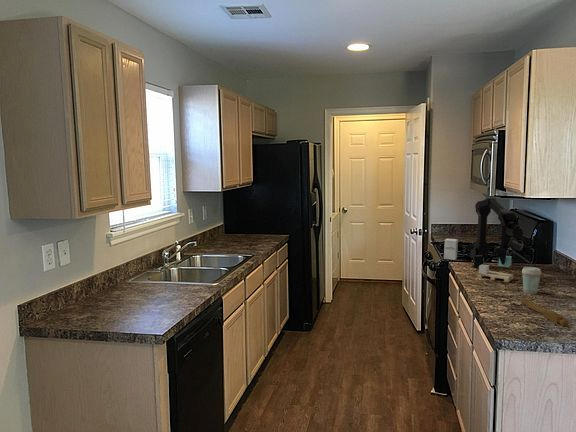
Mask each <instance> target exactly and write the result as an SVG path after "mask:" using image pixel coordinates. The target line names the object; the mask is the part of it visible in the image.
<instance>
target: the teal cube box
mask: <svg viewBox="0 0 576 432" xmlns="http://www.w3.org/2000/svg"><path fill="white" fill-rule="evenodd" d="M511 266H512V256H511V255H510V256H506V260H505V264H504V265H502V263H501V261H500V259H499V258H498V267H506V268H509V267H511Z"/></svg>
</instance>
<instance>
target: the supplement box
mask: <svg viewBox="0 0 576 432" xmlns="http://www.w3.org/2000/svg"><path fill="white" fill-rule="evenodd" d="M458 244H459V239H458V238H448V237H447V238H446V239H444V247H443V249H444V250H443V251H444V252H443V260H453V261H455V260H457V259H458V246H459V245H458Z"/></svg>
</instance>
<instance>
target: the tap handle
mask: <svg viewBox="0 0 576 432" xmlns="http://www.w3.org/2000/svg"><path fill="white" fill-rule="evenodd" d="M520 303H521V305H524V306H526V307H527V308H529V309H532V310H533V311H535V312H538V313H540V315H541V314H542V316H543V317H544V318H545V319H547V320H548V321H550V322H552V323H553V324H556V325H560V326H562V327H567V326H568V325H569V321H568V320H567V319H565V317H564V316H563V315H561V314H559V313H557V312H555V311H554V310H550V309H544V308H543V307H542V306H539V305H538V304H536V303H535V302H533V301H531V300H528V298H525V297H524V298H521V300H520Z"/></svg>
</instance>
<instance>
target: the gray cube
mask: <svg viewBox="0 0 576 432" xmlns="http://www.w3.org/2000/svg"><path fill="white" fill-rule="evenodd" d="M489 271H490V265H487V264H484V265H480V266H479V268H478V272H479V273H483V274H487V273H489Z"/></svg>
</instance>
